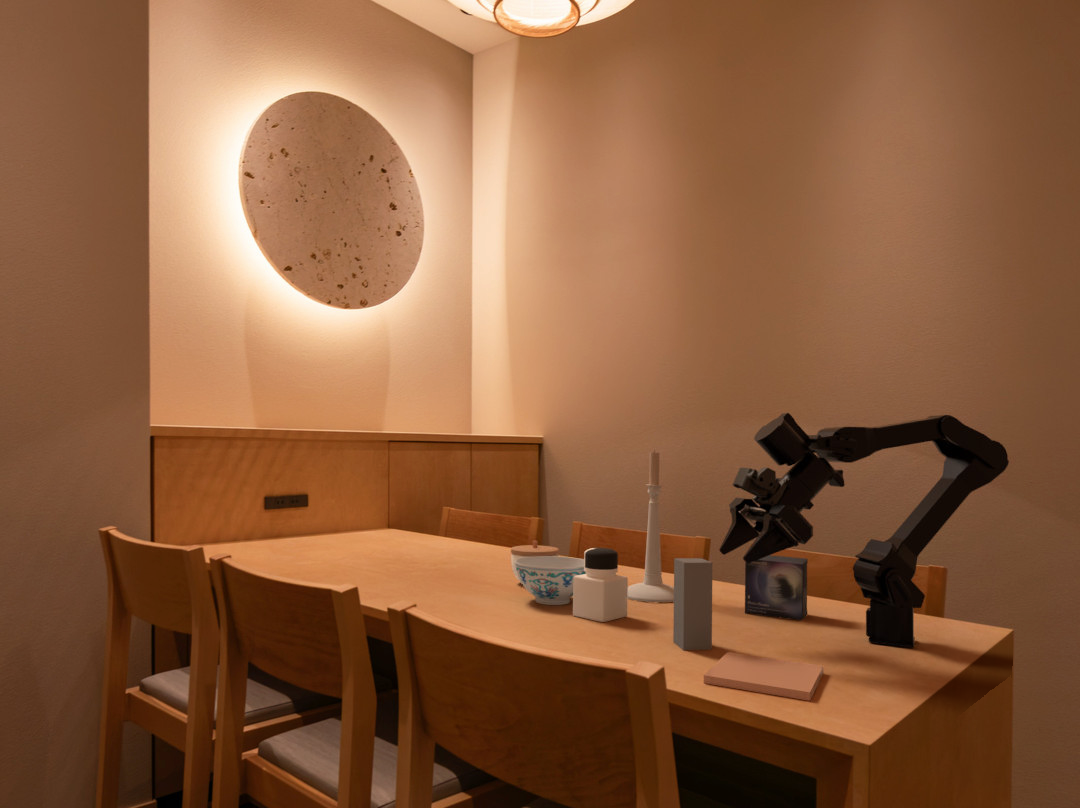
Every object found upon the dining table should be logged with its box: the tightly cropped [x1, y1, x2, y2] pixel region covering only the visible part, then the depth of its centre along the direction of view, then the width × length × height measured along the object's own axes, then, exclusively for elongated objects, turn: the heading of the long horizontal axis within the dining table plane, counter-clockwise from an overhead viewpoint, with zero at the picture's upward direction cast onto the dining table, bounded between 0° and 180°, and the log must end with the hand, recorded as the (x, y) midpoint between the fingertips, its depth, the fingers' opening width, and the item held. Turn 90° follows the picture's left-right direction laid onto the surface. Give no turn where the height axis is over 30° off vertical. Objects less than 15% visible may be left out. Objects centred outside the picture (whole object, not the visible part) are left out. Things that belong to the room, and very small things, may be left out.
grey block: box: [672, 557, 713, 651], centre depth 115 cm, size 4×4×13 cm
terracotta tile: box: [703, 651, 824, 702], centre depth 99 cm, size 13×13×1 cm
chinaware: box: [515, 556, 586, 606], centre depth 146 cm, size 15×15×8 cm
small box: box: [744, 554, 809, 621], centre depth 139 cm, size 11×6×10 cm, turn 62°
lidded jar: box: [510, 540, 560, 585], centre depth 165 cm, size 11×11×9 cm
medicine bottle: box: [572, 547, 629, 623], centre depth 134 cm, size 7×7×12 cm
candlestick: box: [627, 450, 674, 603], centre depth 154 cm, size 13×13×30 cm
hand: (732, 556), depth 117 cm, fingers open, 9 cm apart
